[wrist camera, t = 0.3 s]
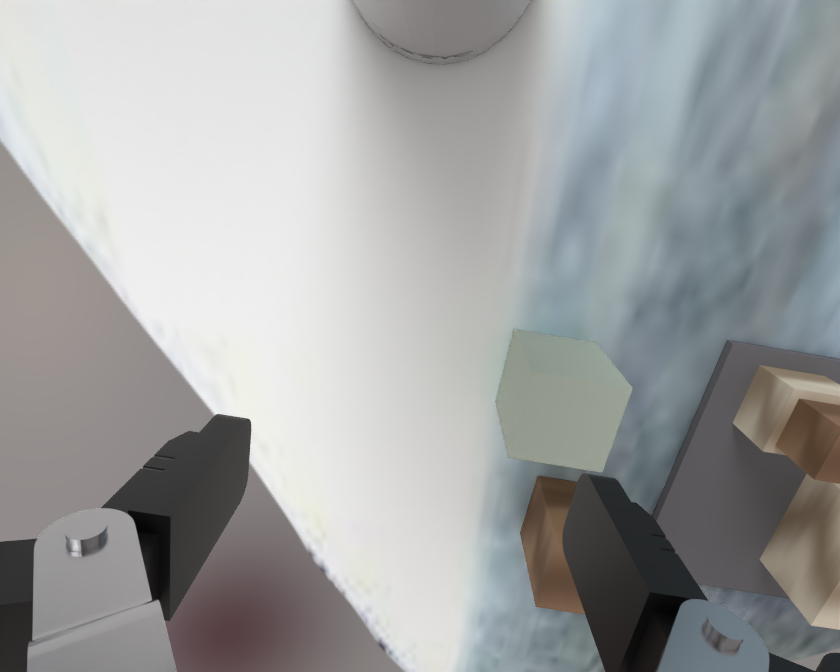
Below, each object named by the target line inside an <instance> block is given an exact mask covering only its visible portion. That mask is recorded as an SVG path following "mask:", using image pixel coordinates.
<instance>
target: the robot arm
mask: <svg viewBox="0 0 840 672" xmlns="http://www.w3.org/2000/svg"><path fill="white" fill-rule="evenodd" d="M352 1H353V3H354V5H355V7H356V8H357V10H358V12H359V13H360V15H361V16H362V18H363V19H364V20H365V22H366V23H367V25H368V26H369V27H370V29H371V30H372V32H373V33H374V34H375V35H377V36H378V37H379V38H380V39H381V40H382V41H383V42H384V43H385V44H386V45H387V46H388V47H390V48H392V49H393V50H395V51H397V52H399V53H400V54H402V55H404V56H405V57H408V58H411V59H414V60H418V61H421V62H424V63H436V64H448V63H454V62H459V61H465V60H467V59H469V58H472V57H474V56H476V55H479V54H481V53H483V52H485V51H486V50H487V49H489V48H490V47H492V46H493V45H494V44H496V43H497V42H499V41H500V40H501V39H502V38H503V37H504V36H505V35H506V34H507V33H508V32H509V30H510V29H511V28H512V27H513V26H514V25H515V24H516V23H517V21H518V20H519V18H520V17H521V15H522V14H523V12H524V10H525V9H526V7H527V6H528V4H529V3H530V1H531V0H352ZM250 440H251V421H250V419H246V418H240V417H234V416H228V415H222V414H217V415H215V416H214V417H213V418H212V419H211V420H210V421H209V422H208V424H207V425H206V426H205V427H204V428H203V429H202V430H201V431H200V432H199V433H198V432H192V431H188V432H186V433H184V434H182V435H180V436H178V437H176V438H174V439H172V440H170V441H168V442H167V443H166V444H165V445H164V446H163V447H162V448H161V449H160V450H159V451H158V452H157V453H156V454H155V456H154V458H153V457H152V458H151V459H150V460H149V461H148V462H147V463H146V464H145V465H144V466H143V469H140V470H139V471H138V472H137V473H136V474H135V475H134V476H133V477H132V478H131V479H130V480H129V481H128V482H127V483H126V484H125V485H124V486H123V487H122V488H121V489H120V490H119V491H118V492H117V493H116V494H115V495H113V497H111V499H109V501H108V502H107V503H106V504H104V506H102V507H101V508H98V509H90V510H84V511H81V512H77V513H74V514H71V515H68V516H66V517H64V518H62V519H60V520H58V521H57V522H55V523H53V524H52V525H50V526H49V527H48V528H46V529H45V530H44V531H43V532H42V533H41V534H40V536H39V537H38V538H37V539H29V540H17V541H4V542H0V672H177V671H176V667H175V662H174V658H173V654H172V651H171V646H170V642H169V638H168V633H167V630H166V625H165V621H164V620H167V621H170V620H171V618H172V616H173V615H174V613H175V611H176V610H177V608H178V606H179V604H180V603H181V601H182V599H183V598H184V596H185V594H186V593H187V591H188V589H189V588H190V586H191V584H192V583H193V581H194V579H195V578H196V576H197V574H198V573H199V571H200V569H201V567H202V566H203V564H204V562H205V561H206V559H207V557H208V556H209V554H210V552H211V551H212V549H213V547H214V546H215V544H216V542H217V541H218V539H219V537H220V535H221V534H222V532H223V530H224V529H225V527H226V525H227V524H228V522H229V520H230V519H231V517H232V515H233V514H234V512H235V510H236V509H237V506H238V505H239V504H240V502H241V499H242V497H243V495H244V492H245V488H246V485H247V480H248V470H249V455H250ZM562 544H563V551H564V555H565V558H566V561H567V564H568V566H569V569H570V572H571V575H572V578H573V581H574V584H575V586H576V589H577V592H578V595H579V598H580V601H581V603H582V606H583V609H584V612H585V615H586V618H587V620H588V623H589V626H590V629H591V632H592V635H593V638H594V640H595V643H596V646H597V649H598V652H599V655H600V657H601V660H602V663H603V666H604V669H605V672H840V653H829V654H827V655H825V656H824V657H823V659H822V661H821V662H820V664H819V666H818V667H817V669H816V671H813V670H811V669H808V668H806V667H803V666H801V665H798V664H796V663H794V662H791V661H789V660H786V659H784V658H781V657H779V656H776V655H774V654H771V653H769V652H768V650H767V647H766V645H765V643H764V642H763V640H762V639H761V637H760V636H759V635H758V634H757V633H756V631H755V630H754V629H753V628H752V627H751V626H750V625H749V624H748V623H746V622H745V621H744V620H743V619H742V618H740V617H739V616H737V615H736V614H735V613H733V612H731V611H730V610H728V609H726V608H724V607H722V606H720V605H718V604H715V603H713V602H710V601H708V600H707V598H706V597H705V595H704V593H703V592H702V590H701V589H700V587H699V586H698V584H697V583H696V581H695V580H694V578H693V577H692V575H691V574H690V572H689V571H688V569H687V568H686V566H685V564H684V563H683V561H682V560H681V558H680V557H679V555H678V554H675V549H674V548H673V546H672V545H671V543H670V542H669V540H667V539H666V535H665V534H664V532H663V531H662V529H661V528H660V526H659V525H658V523H657V522H656V520H655V519H654V518H653V517H652V516H651V515H650V514H648V513H647V512H646V511H645V510H644V509H643V508H642V507H641V506H639V505H638V504H637V503H633V502H631V501H630V500H629V498H628V496H627V495H626V493H625V492H624V490H623V488H622V487H621V485H620V483H619V482H618V481H617V480H616V479H615V478H609V477H603V476H597V475H590V474H582V475H581V476H580V478H579V480H578V483H577V486H576V489H575V492H574V495H573V499H572V502H571V505H570V508H569V511H568V514H567V518H566V521H565V524H564V528H563V536H562Z"/></svg>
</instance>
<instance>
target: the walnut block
mask: <svg viewBox="0 0 840 672" xmlns="http://www.w3.org/2000/svg"><path fill="white" fill-rule="evenodd" d="M577 483H578V482H574V481H568V480H562V479H555V478H549V477H543V476H537V480H536V483H535V486H534V489H533V493H532V496H531V499H530V502H529V506H528V509H527V512H526V516H525V519H524V522H523V525H522V529H521V532H520V535H521V539H522V544H523V549H524V553H525V558H526V563H527V568H528V572H529V577H530V582H531V586H532V591H533V596H534V601H535V605H536V607H540V608H547V609H553V610H560V611H567V612H573V613H580V614H585V612H584V609H583V606H582V603H581V601H580V598H579V595H578V592H577V589H576V586H575V584H574V581H573V578H572V575H571V572H570V569H569V566H568V564H567V561H566V558H565V555H564V551H563V544H562V536H563V528H564V524H565V521H566V518H567V514H568V511H569V508H570V505H571V502H572V499H573V495H574V492H575V489H576V486H577Z"/></svg>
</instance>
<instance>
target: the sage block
mask: <svg viewBox="0 0 840 672" xmlns="http://www.w3.org/2000/svg"><path fill="white" fill-rule="evenodd" d="M632 389H633V388H632V387H631V385H630V384H629V383H628V382H627V380H626V379H625V378H624V377H623V376H622V374H621V373H620V372H619V371H618V369H617V368H616V367H615V366H614V364H613V363H612V362H611V361H610V359H609V358H608V357H607V356H606V355H605V353H604V352H603V351H602V350H601V348H600V347H599V346H598V345H597V343H596V342H590V341H584V340H578V339H572V338H566V337H560V336H554V335H548V334H542V333H536V332H530V331H524V330H518V329H514V330H513V334H512V338H511V342H510V346H509V350H508V354H507V358H506V362H505V366H504V370H503V374H502V378H501V382H500V386H499V390H498V394H497V398H496V406H497V411H498V415H499V419H500V424H501V428H502V433H503V437H504V442H505V446H506V450H507V455H508V458H514V459H520V460H526V461H533V462H539V463H545V464H551V465H558V466H564V467H570V468H577V469H583V470H589V471H595V472H603V469H604V466H605V463H606V461H607V458H608V455H609V452H610V450H611V447H612V444H613V441H614V439H615V436H616V433H617V431H618V428H619V425H620V422H621V420H622V417H623V414H624V411H625V409H626V406H627V403H628V400H629V398H630V395H631V392H632Z"/></svg>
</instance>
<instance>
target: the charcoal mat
mask: <svg viewBox="0 0 840 672" xmlns="http://www.w3.org/2000/svg"><path fill="white" fill-rule="evenodd" d="M759 365H762V366H768V367H774V368H780V369H786V370H792V371H798V372H804V373H810V374H816V375H822V376H826V377H828V378H829V379H831V380H833V381H834V382H836V383H838V384H839V385H840V359H836V358H830V357H825V356H819V355H813V354H807V353H801V352H795V351H789V350H783V349H777V348H771V347H765V346H759V345H753V344H747V343H741V342H735V341H729V340H727V342H726V345H725V347H724V349H723V352H722V354H721V356H720V359H719V361H718V363H717V366H716V368H715V370H714V373H713V375H712V377H711V380H710V382H709V384H708V387H707V389H706V392H705V394H704V396H703V399H702V401H701V403H700V406H699V408H698V410H697V413H696V415H695V417H694V420H693V422H692V424H691V427H690V429H689V431H688V434H687V436H686V438H685V441H684V443H683V445H682V448H681V450H680V452H679V455H678V457H677V459H676V462H675V464H674V466H673V469H672V471H671V473H670V476H669V478H668V480H667V483H666V485H665V487H664V490H663V492H662V494H661V497H660V499H659V501H658V504H657V506H656V509H655V511H654V513H653V516H652V517H653V518H654V519H655V520H656V522H657V523H658V525H659V526H660V528H661V529H662V531H663V532H664V534H665V535H666V539H667V540H669V542H670V543H671V545H672V546H673V548H674V549H675V554H678V555H679V557H680V558H681V560H682V561H683V563H684V564H685V566H686V568H687V569H688V571H689V572H690V574H691V575H692V577H693V578H694V580H695V581H696V583H697V584H701V585H707V586H714V587H720V588H727V589H733V590H740V591H746V592H753V593H759V594H766V595H772V596H779V597H785V598H789V597H788V595H787V594H786V593H785V592H784V590H783V589H782V588H781V586H780V585H779V584H778V583H777V581H776V580H775V579H774V577H773V576H772V575H771V574H770V572H769V571H768V570H767V569H766V567H765V566H764V565H763V563H762V562H761V561H760V560H759V559H760V558H761V556H762V554H763V552H764V550H765V548H766V547H767V545H768V543H769V541H770V539H771V538H772V536H773V534H774V532H775V530H776V529H777V527H778V525H779V523H780V521H781V520H782V518H783V516H784V514H785V512H786V510H787V509H788V507H789V505H790V503H791V501H792V500H793V498H794V496H795V494H796V492H797V491H798V489H799V487H800V485H801V483H802V481H803V480H804V478H805V476H806V474H807V473H806V472H805V471H804V470H803V469H801V468H800V467H799V466H798V465H797V464H796V463H795V462H794V461H792V460H791V459H790V458H789V457H788V456H787V455H782V454H775V453H769V452H763V451H762V450H761V449H760V448H759V447H758V446H756V445H755V444H754V443H753V442H752V441H751V440H750V439H749V438H748V437H747V436H746V435H745V434H744V433H743V432H742V431H740V430H739V429H738V428H737V427H736V426H735V425H734V424H733V421H734V419H735V417H736V415H737V412H738V410H739V408H740V406H741V404H742V402H743V400H744V397H745V395H746V393H747V391H748V389H749V387H750V384H751V382H752V380H753V378H754V376H755V374H756V371H757V369H758V367H759Z"/></svg>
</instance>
